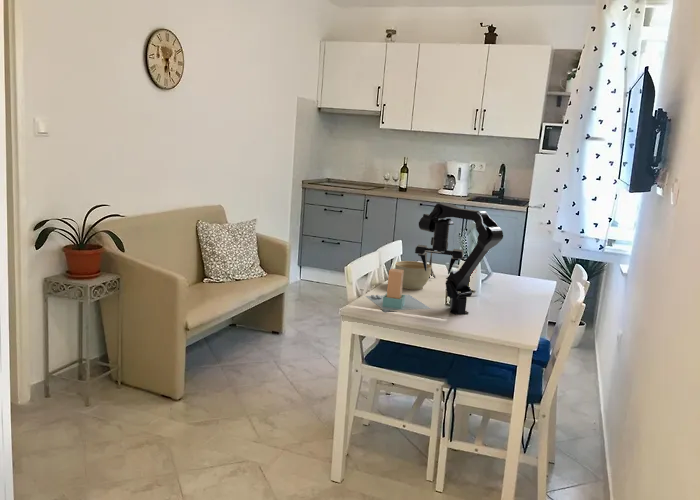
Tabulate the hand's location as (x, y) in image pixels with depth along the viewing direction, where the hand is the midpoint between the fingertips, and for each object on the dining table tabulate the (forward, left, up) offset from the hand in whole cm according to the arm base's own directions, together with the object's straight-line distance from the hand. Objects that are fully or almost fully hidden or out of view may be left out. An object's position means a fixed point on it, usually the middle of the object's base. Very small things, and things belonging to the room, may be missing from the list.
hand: (437, 272), depth 248 cm
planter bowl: (+23, -1, -13) cm, 27 cm away
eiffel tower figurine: (+44, -20, -14) cm, 50 cm away
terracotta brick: (-3, +20, -9) cm, 22 cm away
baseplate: (+1, +16, -13) cm, 21 cm away
